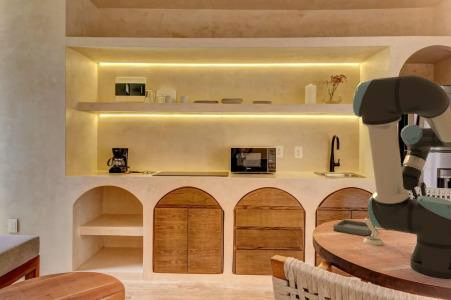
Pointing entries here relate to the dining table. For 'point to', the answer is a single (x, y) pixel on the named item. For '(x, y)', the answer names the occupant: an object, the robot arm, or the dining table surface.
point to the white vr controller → (372, 235)
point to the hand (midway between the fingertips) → (394, 216)
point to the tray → (353, 227)
